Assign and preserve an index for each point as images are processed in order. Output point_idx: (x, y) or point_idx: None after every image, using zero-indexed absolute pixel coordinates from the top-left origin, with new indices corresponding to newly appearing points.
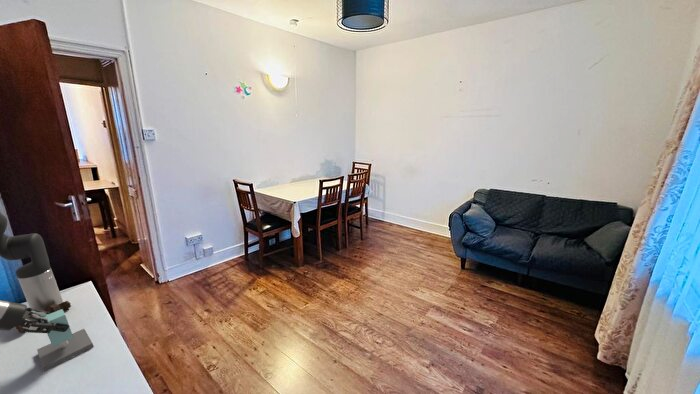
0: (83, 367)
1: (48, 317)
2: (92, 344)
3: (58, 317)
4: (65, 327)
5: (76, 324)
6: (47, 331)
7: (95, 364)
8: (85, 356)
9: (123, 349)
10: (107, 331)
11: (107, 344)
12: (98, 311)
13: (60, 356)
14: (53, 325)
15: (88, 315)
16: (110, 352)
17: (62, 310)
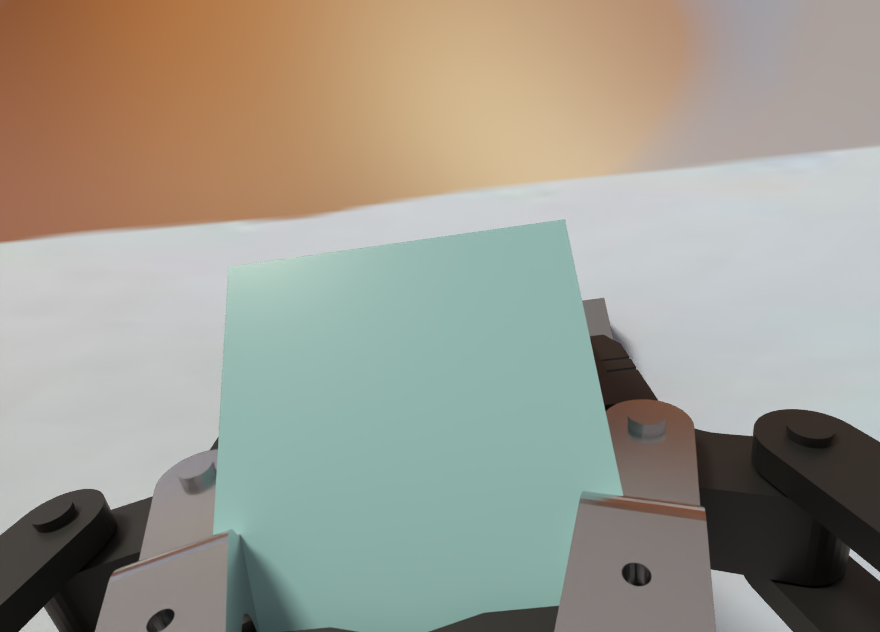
0: (855, 389)
1: (391, 501)
2: (600, 305)
3: (585, 323)
4: (621, 349)
5: (114, 399)
6: (842, 559)
7: (875, 317)
8: (696, 369)
9: (806, 158)
10: (451, 224)
11: (646, 235)
12: (77, 256)
13: None
14: (847, 427)
15: (62, 317)
16: (780, 226)
17: (302, 263)
